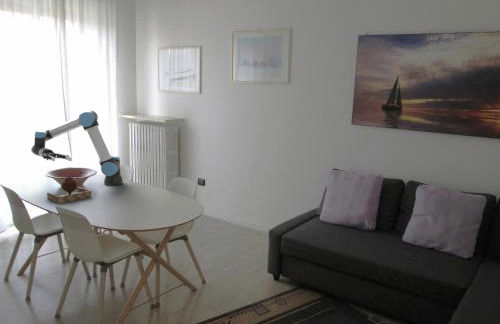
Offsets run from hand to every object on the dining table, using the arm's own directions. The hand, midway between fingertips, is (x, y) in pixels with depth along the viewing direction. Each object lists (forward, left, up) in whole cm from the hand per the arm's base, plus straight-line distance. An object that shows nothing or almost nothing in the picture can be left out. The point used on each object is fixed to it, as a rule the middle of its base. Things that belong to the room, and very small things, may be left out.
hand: (63, 159), depth 302 cm
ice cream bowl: (+2, +11, -27) cm, 29 cm away
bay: (+2, +10, -27) cm, 29 cm away
